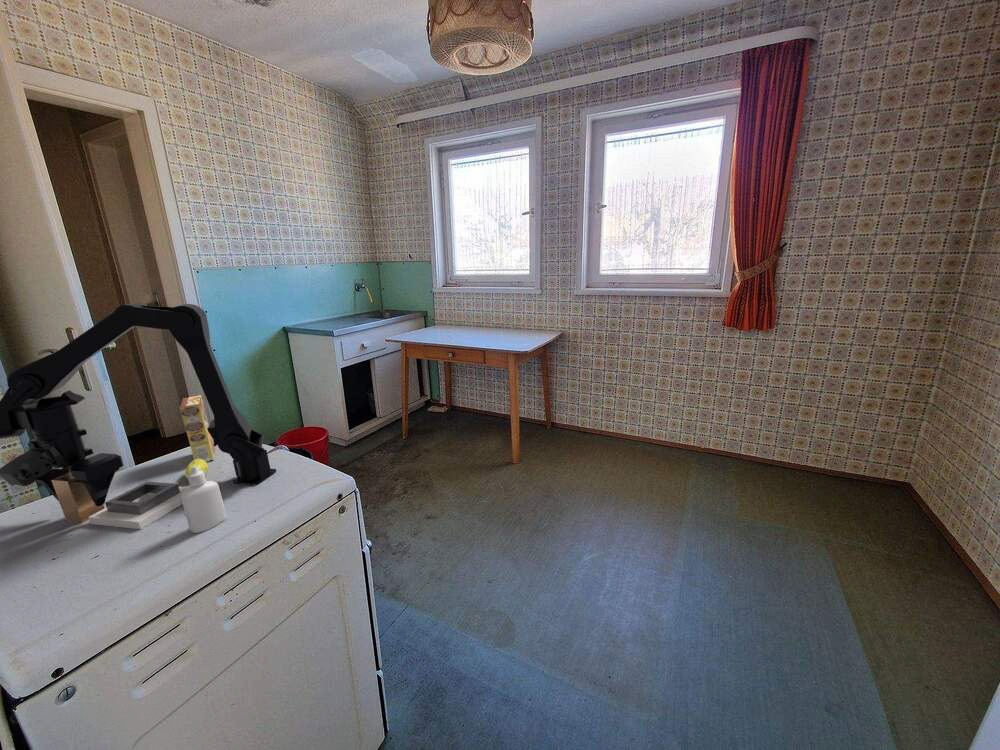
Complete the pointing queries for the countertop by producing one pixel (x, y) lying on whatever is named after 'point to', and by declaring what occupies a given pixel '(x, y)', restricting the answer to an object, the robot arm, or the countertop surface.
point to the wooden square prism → (74, 499)
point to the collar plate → (140, 505)
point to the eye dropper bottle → (202, 502)
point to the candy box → (197, 428)
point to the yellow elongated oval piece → (199, 464)
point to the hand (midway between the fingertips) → (82, 503)
